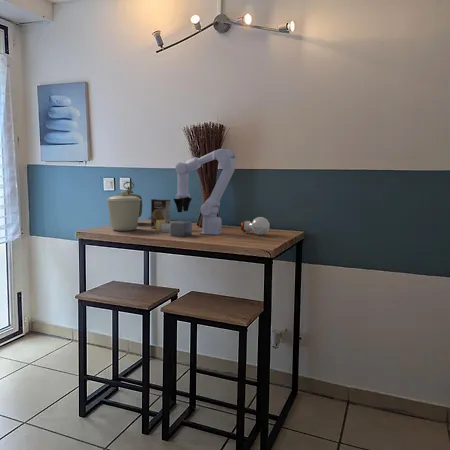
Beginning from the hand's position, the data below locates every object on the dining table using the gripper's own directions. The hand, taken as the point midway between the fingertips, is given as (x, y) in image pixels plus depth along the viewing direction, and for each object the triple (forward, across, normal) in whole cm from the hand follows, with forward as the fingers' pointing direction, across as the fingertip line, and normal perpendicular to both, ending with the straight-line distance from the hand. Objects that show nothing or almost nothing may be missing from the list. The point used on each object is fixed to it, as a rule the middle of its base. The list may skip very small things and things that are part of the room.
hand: (182, 211), depth 226 cm
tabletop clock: (+11, -16, -42) cm, 46 cm away
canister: (+11, +9, -30) cm, 33 cm away
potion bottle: (+11, -5, +39) cm, 40 cm away
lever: (+11, +5, -6) cm, 13 cm away
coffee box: (+11, -6, -16) cm, 20 cm away
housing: (+10, +14, +6) cm, 18 cm away
